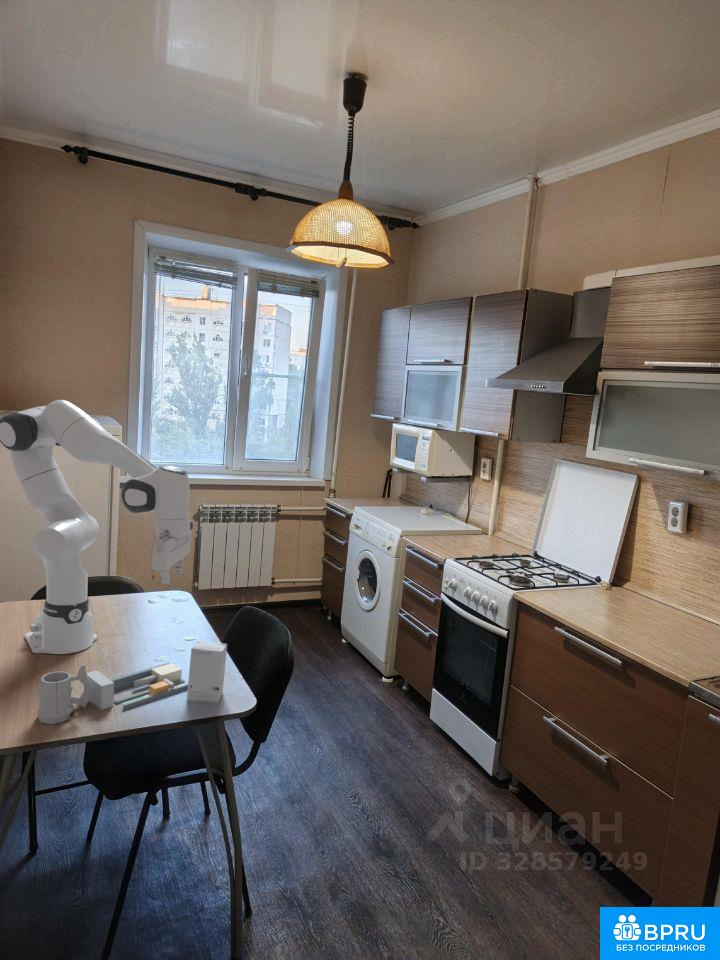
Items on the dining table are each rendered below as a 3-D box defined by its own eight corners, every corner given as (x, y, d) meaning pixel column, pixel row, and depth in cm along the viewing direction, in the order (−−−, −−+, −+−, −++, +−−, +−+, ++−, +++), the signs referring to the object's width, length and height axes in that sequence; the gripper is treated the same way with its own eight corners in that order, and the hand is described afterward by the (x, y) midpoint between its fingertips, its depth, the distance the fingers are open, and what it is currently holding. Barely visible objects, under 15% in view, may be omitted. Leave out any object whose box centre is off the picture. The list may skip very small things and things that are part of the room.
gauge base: (77, 695, 159) (77, 668, 158) (169, 668, 179) (170, 644, 178) (109, 721, 148) (109, 692, 147) (203, 689, 167) (204, 663, 166)
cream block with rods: (130, 686, 163) (130, 675, 163) (171, 673, 172) (171, 663, 172) (148, 699, 157) (149, 688, 157) (190, 685, 166) (191, 675, 166)
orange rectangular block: (149, 694, 160) (149, 685, 160) (163, 689, 163) (163, 681, 163) (154, 698, 158) (154, 689, 158) (168, 693, 161) (168, 684, 161)
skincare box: (186, 705, 159) (188, 648, 157) (192, 694, 165) (194, 639, 163) (219, 707, 159) (222, 650, 157) (224, 696, 165) (227, 641, 163)
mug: (35, 712, 150) (36, 664, 148) (89, 703, 156) (90, 656, 154) (38, 727, 143) (38, 677, 142) (94, 717, 149) (95, 669, 148)
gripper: (170, 536, 156) (170, 590, 158) (195, 521, 176) (195, 569, 178) (145, 534, 156) (145, 588, 158) (173, 520, 177) (173, 568, 178)
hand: (172, 578), depth 168 cm, fingers open, 8 cm apart
